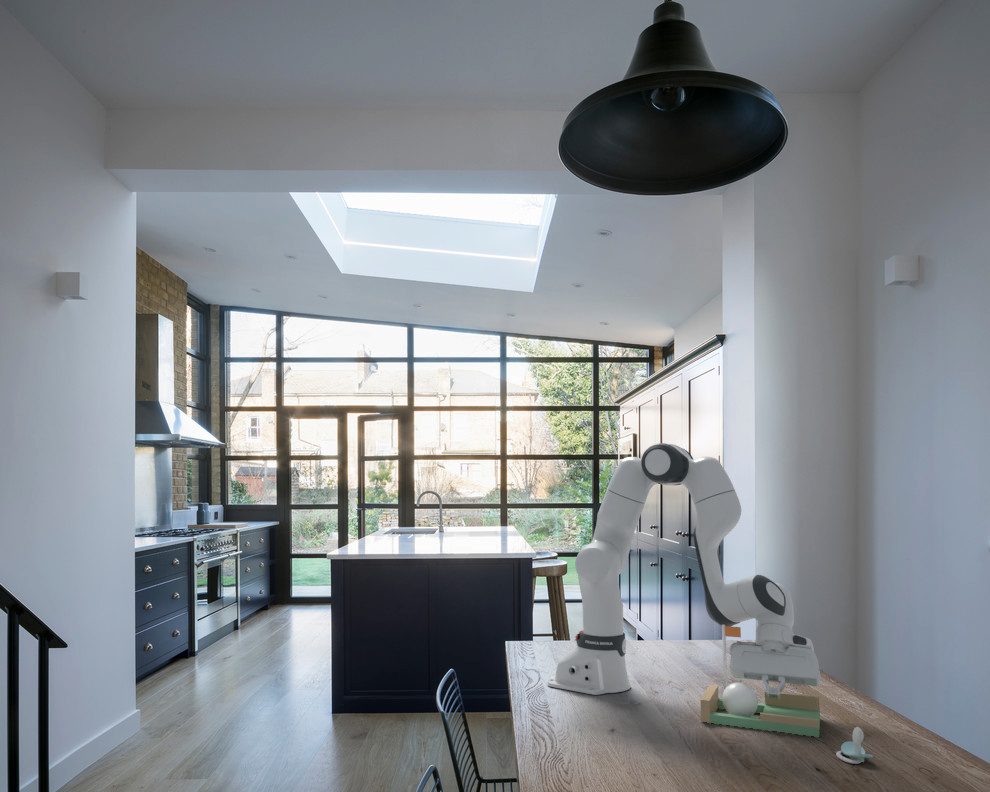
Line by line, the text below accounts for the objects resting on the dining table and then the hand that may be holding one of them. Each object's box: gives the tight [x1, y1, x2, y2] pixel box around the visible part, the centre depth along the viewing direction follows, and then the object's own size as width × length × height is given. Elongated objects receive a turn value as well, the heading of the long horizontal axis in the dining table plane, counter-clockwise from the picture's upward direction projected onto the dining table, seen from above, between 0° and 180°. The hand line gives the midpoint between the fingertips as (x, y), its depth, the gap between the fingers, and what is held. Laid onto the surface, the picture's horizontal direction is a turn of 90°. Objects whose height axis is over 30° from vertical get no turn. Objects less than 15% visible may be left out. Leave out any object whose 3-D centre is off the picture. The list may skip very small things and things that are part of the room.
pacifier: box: [835, 726, 874, 765], centre depth 147 cm, size 7×6×6 cm
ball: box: [721, 681, 759, 717], centre depth 173 cm, size 8×8×8 cm
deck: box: [700, 625, 821, 738], centre depth 172 cm, size 25×14×20 cm, turn 65°
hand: (773, 696), depth 170 cm, fingers closed
